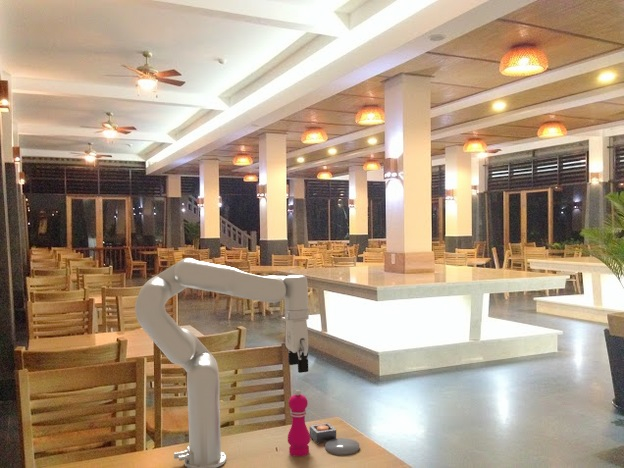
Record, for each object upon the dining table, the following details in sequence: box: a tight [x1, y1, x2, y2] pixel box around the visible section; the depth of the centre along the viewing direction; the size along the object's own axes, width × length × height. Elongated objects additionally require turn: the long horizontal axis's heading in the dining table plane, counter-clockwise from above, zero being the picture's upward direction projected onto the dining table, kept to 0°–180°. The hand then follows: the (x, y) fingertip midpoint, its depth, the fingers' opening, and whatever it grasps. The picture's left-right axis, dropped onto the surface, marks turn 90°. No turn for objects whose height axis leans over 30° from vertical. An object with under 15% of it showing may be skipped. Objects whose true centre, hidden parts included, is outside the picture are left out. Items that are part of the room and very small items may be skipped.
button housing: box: [309, 422, 337, 444], centre depth 191 cm, size 7×7×4 cm
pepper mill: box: [287, 389, 311, 457], centre depth 180 cm, size 7×7×20 cm
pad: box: [324, 437, 360, 456], centre depth 183 cm, size 11×11×1 cm
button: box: [317, 425, 329, 431], centre depth 191 cm, size 4×4×2 cm
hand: (298, 368), depth 179 cm, fingers open, 9 cm apart
